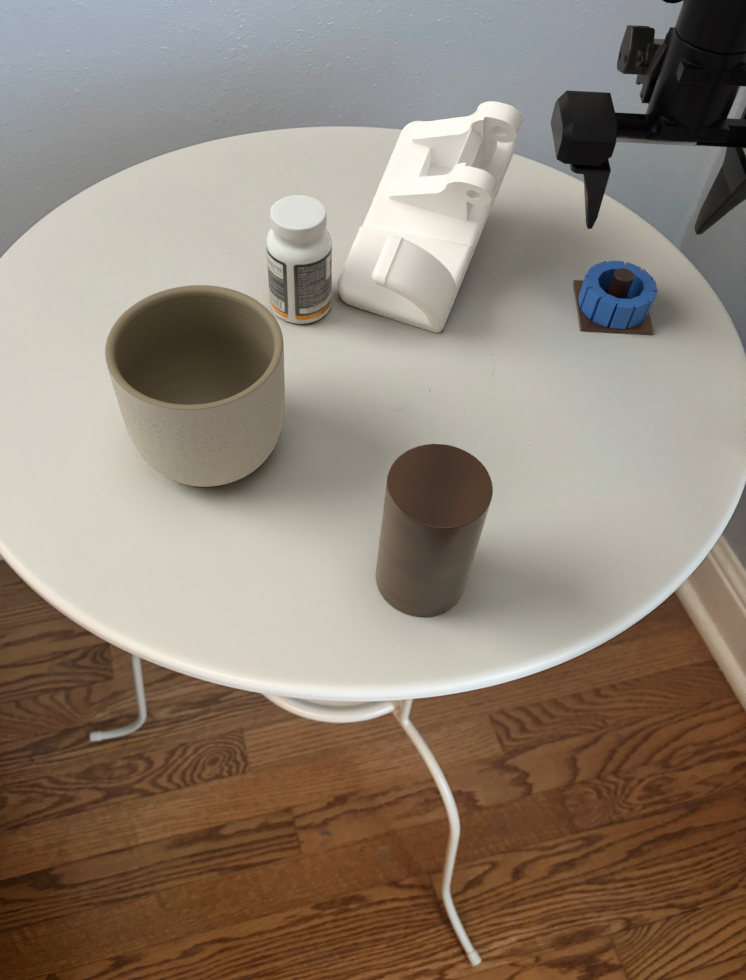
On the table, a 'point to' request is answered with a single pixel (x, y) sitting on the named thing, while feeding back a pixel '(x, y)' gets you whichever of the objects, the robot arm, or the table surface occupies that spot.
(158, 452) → the planter
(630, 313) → the tape roll
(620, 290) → the peg stand
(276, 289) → the pill bottle
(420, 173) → the tape dispenser
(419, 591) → the pedestal
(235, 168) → the table surface
